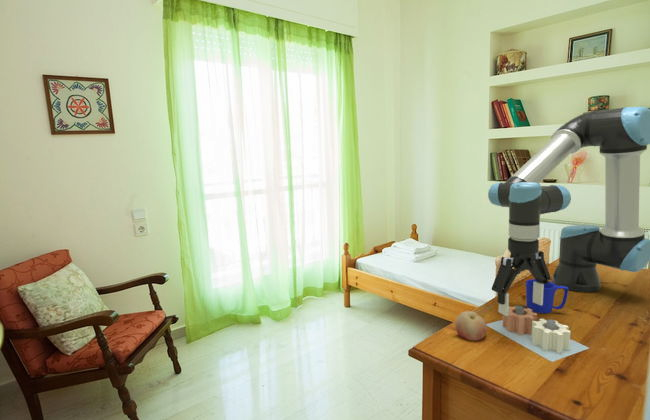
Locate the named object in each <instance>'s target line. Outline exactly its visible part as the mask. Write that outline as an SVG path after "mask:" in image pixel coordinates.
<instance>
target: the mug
mask: <svg viewBox="0 0 650 420" xmlns="http://www.w3.org/2000/svg"><path fill="white" fill-rule="evenodd" d="M534 281H536V280H535V278H532V279H527V280H526V281H525V296H526V298H525V299H526V309H527V308H530V309H532V312H533V313H537V314H551V313H552V311H553V309H555V310H561V309H563V308H564V307H565V304H566V302H567V298H568V294H569V290H568V287H565V286H557V285H555V284H554V283H553V282H552V281H549V282H548V284H544V293H543V305H538V304H536V303H534V302H533V282H534ZM536 282H537V281H536ZM560 289H561V290H564V292H563V293H564V294H563V298H562V301H561V303H560V304H559V305H558V306H554V299H555V294H556V292H557V290H560Z"/></svg>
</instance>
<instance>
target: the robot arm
mask: <svg viewBox="0 0 650 420" xmlns="http://www.w3.org/2000/svg"><path fill="white" fill-rule="evenodd" d="M648 145H650V108H648V107H645V106H625V107H618V108H610V109H602V110H592V111H587V112H585V113H582V114H579V115H577V116H575V117H574V118H572V119H570V120H568V121H567V122H566V123H564V124H563V125H561V126H560V127H559V128H558V129H557V130H555V131H554V132H553V133H552V135H551V137H550V140H549V141H548V142H547V143H546V144H545V145H544V146H542V147H541V148H540V149H539V150H538V151H537V152H536V153H535V154H534V155H533V156H531V158H530V159H529V160H527V161H526V162H525V163H524V164H523V165H522V166H520V168H519V169H518V170H516V172H515V173H513V174H512V175H511V176H510V177H509V178H508V179H507V180H506V181H505V182H502V181H501V182H495V183H493V184H491V185H490V187H489V189H488V191H487V193H488V194H487V197H488V200H489V202H490V203H491V204H492V205H494V206H498V207H502V208H508V210H509V211H508V214H509V215H508V217H509V219H508V240H507V250H508V252H509V253H510V254H509V257H505V256H502V257H501V258H500V264H499V268H498V270H497V273H496V276H495V278H494V281H493V283H492V286H491V290H492V291H493V292H495V293H497V303H498V312H497V313H500V315H501V314H502V316H503V315H505V316H508V309H509V306H510V304H509V302H510V293H508V291H509V289H510V287H511V286H512V285H513V283H514V281H515V280H516V278H517V275H519V274H521V272H524V271H525V270H526V271H529V273H530V274H531V276H532V277H533V279H535V280H536V281H537V282H536V281H534V282H533V302H534V303H536V304H538V305H543V293H544V284H548V282H550V280H551V278H552V281H551V282H552V283H553V284H555V286H565V287H568V291H573V292H579V293H593V292H598V291H600V290H601V286H602V285H601V284H602V283H601V282H602V281H601V280H600V276H599V273H598V270H597V269H598V268H597V265H599V266H600V265H601V266H605V267H609V268H612V269H617V270H620V271H627V272H631V273H636V272H640V271H642V270H643V269H644V268H646V266H647V265H648V264H649V262H650V239H649V238H645V235H646V233H645V230H644V229H642V228H641V227H640V223H639V222H640V183H641V182H640V178H641V177H640V175H641V155H642V154H643V153H644V152H646V151H647V149H648ZM586 147H599V154H600V155H602V156H603V157H604V159H605V160H604V161H605V162H604V163H605V172H604V174H605V176H604V177H605V179H604V180H605V186H604V187H605V189H604V190H605V193H604V194H605V201H604V202H605V206H604V207H605V208H604V210H605V217H604V218H605V225H604V226H602V228H601V227H600V226H598V225H592V224H578V225H577V224H576V225H567V226H564V227H562V228H561V231H560V236H559V256H558V264H557V266H556V268H555V271H554V272H553V274H552V277H551V274H550V271H549V269H548V266H547V263H546V260H545V254H544V253H545V252H544V251H541V250H540V249H539V245H540V241H539V238H540V220H541V219H540V217H541V215H545V214H550V213H557V212H559V211H562V210H565V209H567V207H568V206H569V205H570V203H571V201H572V196H571V193H570V191H569V190H568V188H567V187H565V186H563V185H560V184H559V185H558V184H557V185H556V184H555V185H554V184H551V185H541V184H540V183H541V182H542V181H543V180H544V179H545V178H546V177H548V176H549V174H551V173H552V172H553V171H554V170H555V169H556V168H557V167H558V166H559V165H560V164H561V163H562V162H563V161H564V160H565V159H566V158H568V156H569V155H572V154H575V153H577V152H578V151H580V150H581V149H583V148H586Z"/></svg>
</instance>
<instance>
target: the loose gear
mask: <svg viewBox="0 0 650 420" xmlns="http://www.w3.org/2000/svg"><path fill="white" fill-rule="evenodd" d="M502 320H503V327H506V330H507V331H509V332H512V331H513V332H515V333H518V335H523V334H530V335H531V334H532V322H533V321H537V322H538V313H537V312H534V311H532V309H530V308H527V307H524V315H519V314H516V306H510V305H509V309H508V316H505V315H503V314H502Z"/></svg>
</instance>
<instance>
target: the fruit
mask: <svg viewBox="0 0 650 420" xmlns="http://www.w3.org/2000/svg"><path fill="white" fill-rule="evenodd" d="M486 324H487V323H486V321H485V319H484V318H483V317H481V316H480V315H478V313H476V312H475V311H472V310H471V311H470V310H468V311H467V310H465V311H462V312H461V313H459V314H458V315H457V317H456V319H455V323H454V327H455V331H456V333H457V335H458V336H459V337H460V338H463V339H465V340H468V341H472V342H476V341H481V340H483V339H484V338H485V336H486V334H487V331H488V328H487V327H488V326H486Z"/></svg>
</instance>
